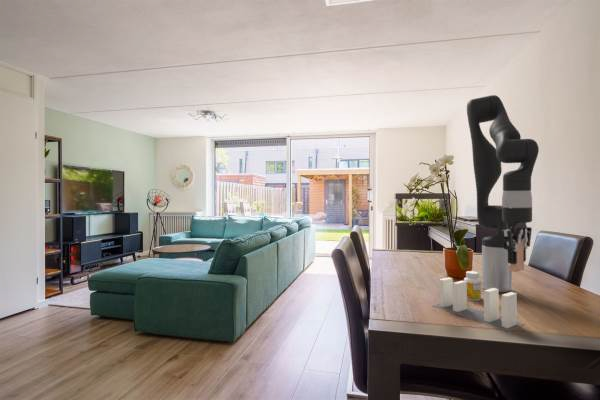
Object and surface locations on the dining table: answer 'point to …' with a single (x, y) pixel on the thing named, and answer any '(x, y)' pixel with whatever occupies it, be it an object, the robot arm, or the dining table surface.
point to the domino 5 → (519, 259)
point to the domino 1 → (445, 292)
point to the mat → (478, 317)
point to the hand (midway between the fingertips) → (516, 262)
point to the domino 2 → (459, 296)
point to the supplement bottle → (473, 285)
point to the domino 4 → (509, 309)
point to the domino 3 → (491, 304)
